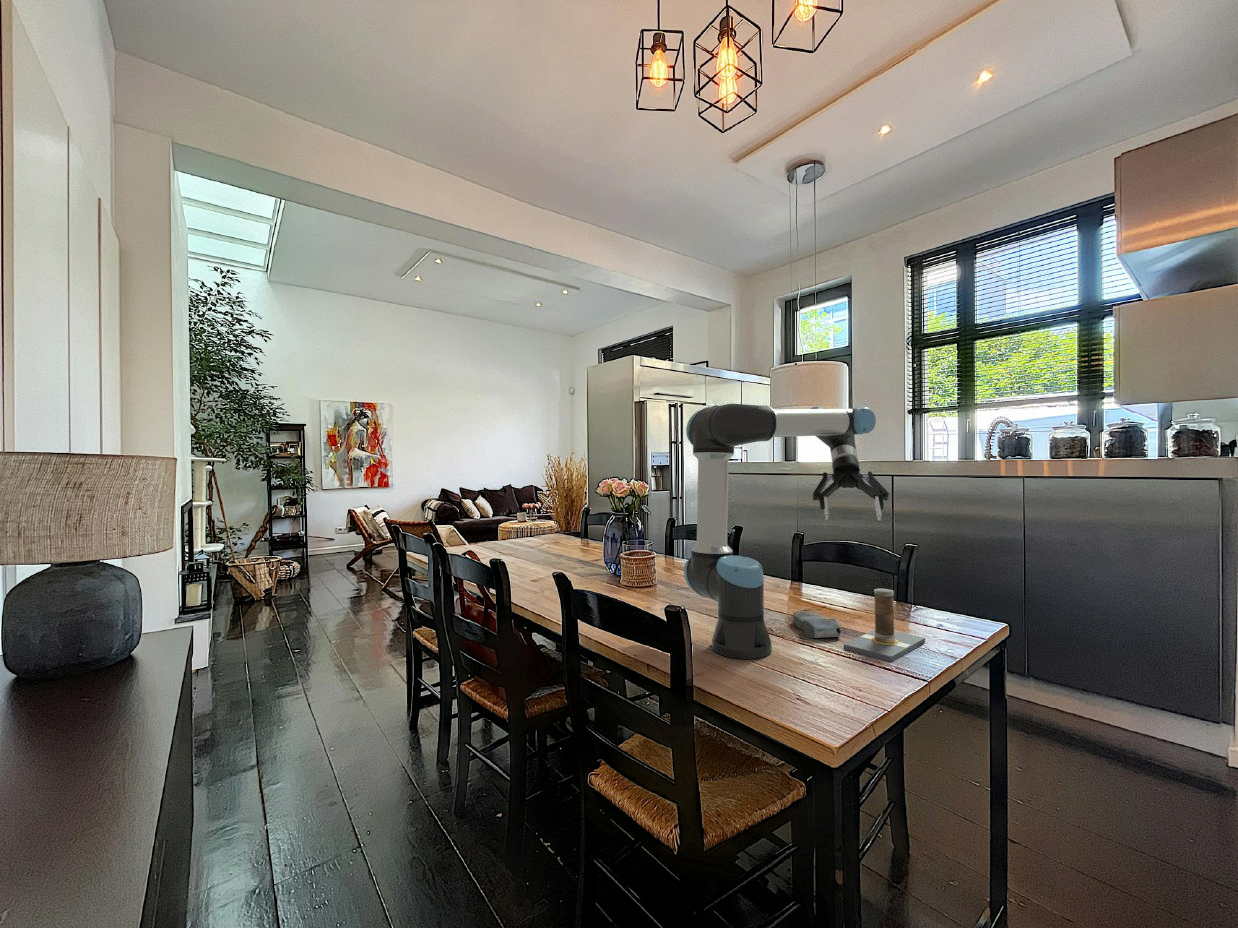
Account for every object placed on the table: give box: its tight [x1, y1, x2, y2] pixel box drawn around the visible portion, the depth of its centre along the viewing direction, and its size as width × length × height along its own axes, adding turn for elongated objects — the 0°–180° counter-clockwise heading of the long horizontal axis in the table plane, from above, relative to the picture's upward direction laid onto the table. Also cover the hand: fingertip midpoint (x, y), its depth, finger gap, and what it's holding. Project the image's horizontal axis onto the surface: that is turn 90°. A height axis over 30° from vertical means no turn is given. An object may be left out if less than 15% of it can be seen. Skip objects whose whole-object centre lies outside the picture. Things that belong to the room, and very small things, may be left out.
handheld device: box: [792, 610, 842, 639], centre depth 155 cm, size 10×20×5 cm, turn 5°
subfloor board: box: [843, 629, 926, 662], centre depth 140 cm, size 20×12×1 cm, turn 130°
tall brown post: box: [873, 588, 895, 643], centre depth 140 cm, size 5×5×13 cm
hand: (853, 517), depth 150 cm, fingers open, 13 cm apart
